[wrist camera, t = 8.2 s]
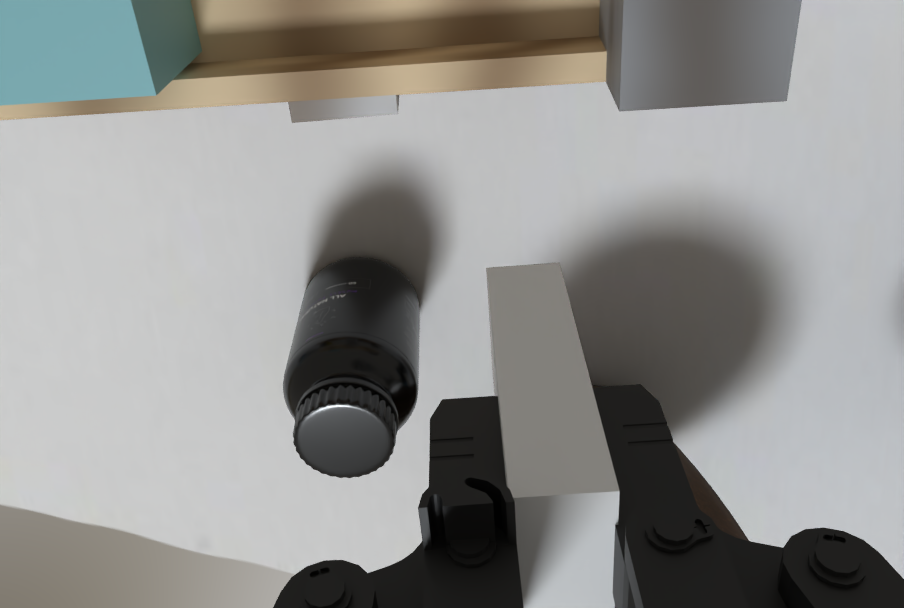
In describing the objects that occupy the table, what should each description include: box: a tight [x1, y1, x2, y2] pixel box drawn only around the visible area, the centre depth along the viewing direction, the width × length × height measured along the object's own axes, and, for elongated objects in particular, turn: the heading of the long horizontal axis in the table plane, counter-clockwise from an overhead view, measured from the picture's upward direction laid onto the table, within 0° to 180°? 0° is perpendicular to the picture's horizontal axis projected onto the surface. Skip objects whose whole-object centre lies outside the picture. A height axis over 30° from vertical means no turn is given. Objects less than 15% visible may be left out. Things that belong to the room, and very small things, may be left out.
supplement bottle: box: [283, 257, 420, 478], centre depth 43 cm, size 7×7×12 cm
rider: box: [0, 0, 202, 106], centre depth 26 cm, size 5×4×5 cm
